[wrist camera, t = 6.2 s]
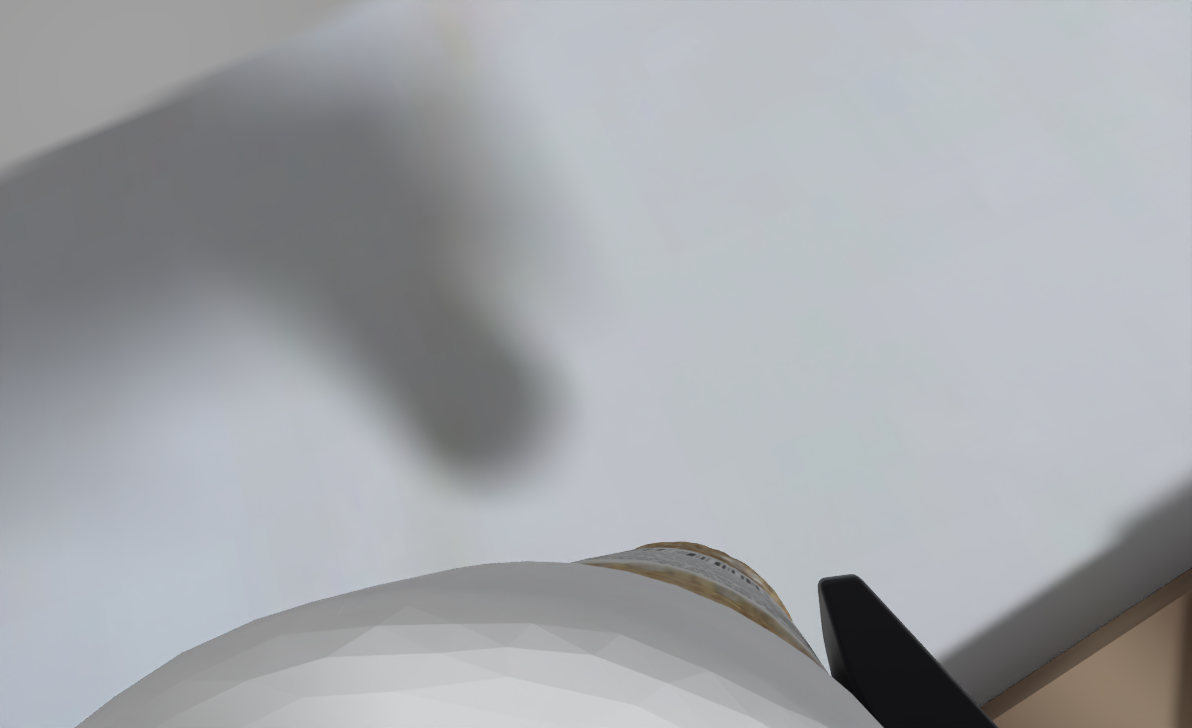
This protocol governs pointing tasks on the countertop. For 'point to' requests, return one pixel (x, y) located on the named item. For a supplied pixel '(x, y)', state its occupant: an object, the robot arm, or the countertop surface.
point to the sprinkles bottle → (512, 655)
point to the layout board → (1114, 673)
